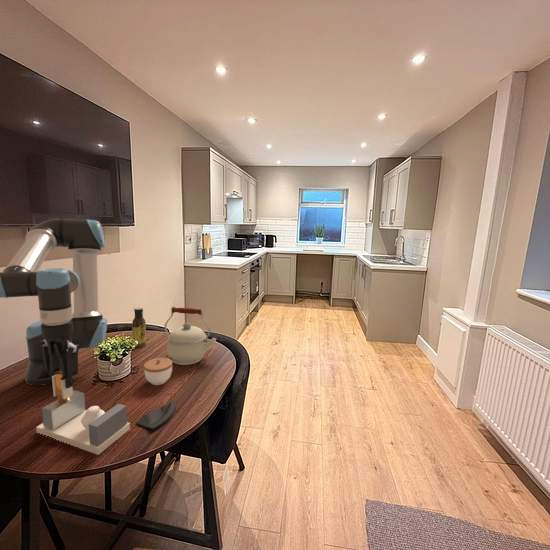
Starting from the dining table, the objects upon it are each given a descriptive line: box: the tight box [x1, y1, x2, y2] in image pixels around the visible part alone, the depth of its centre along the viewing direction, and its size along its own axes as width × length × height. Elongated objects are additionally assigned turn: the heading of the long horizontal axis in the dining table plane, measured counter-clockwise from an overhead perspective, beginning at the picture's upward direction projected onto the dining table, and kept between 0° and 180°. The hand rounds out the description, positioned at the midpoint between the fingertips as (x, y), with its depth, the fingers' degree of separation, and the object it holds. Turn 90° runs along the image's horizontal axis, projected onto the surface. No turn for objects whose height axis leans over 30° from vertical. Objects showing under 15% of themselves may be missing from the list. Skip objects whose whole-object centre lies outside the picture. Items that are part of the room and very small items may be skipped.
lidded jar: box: [143, 357, 174, 386], centre depth 115 cm, size 11×11×9 cm
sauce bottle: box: [131, 307, 147, 348], centre depth 148 cm, size 6×6×20 cm
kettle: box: [164, 306, 217, 366], centre depth 135 cm, size 25×18×25 cm
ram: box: [41, 371, 86, 430], centre depth 88 cm, size 4×10×15 cm, turn 162°
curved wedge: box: [136, 400, 176, 432], centre depth 95 cm, size 8×14×2 cm, turn 154°
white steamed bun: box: [81, 405, 106, 431], centre depth 85 cm, size 6×6×7 cm
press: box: [35, 403, 131, 456], centre depth 86 cm, size 24×11×8 cm, turn 72°
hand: (63, 395), depth 88 cm, fingers closed on ram, 3 cm apart
